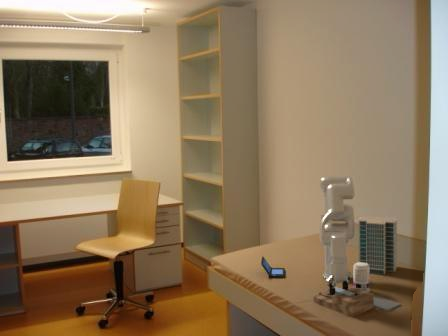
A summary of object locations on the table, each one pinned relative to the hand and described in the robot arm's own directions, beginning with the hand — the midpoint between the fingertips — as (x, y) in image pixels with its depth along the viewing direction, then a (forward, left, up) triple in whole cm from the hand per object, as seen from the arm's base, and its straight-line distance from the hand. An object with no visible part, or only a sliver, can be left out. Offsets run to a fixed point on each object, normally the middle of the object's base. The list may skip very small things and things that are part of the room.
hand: (339, 292), depth 239 cm
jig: (0, +2, -6) cm, 6 cm away
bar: (0, +2, -3) cm, 3 cm away
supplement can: (-21, -3, -6) cm, 22 cm away
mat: (-15, +12, -6) cm, 20 cm away
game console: (-7, -55, -6) cm, 56 cm away
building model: (-57, -19, -6) cm, 60 cm away
